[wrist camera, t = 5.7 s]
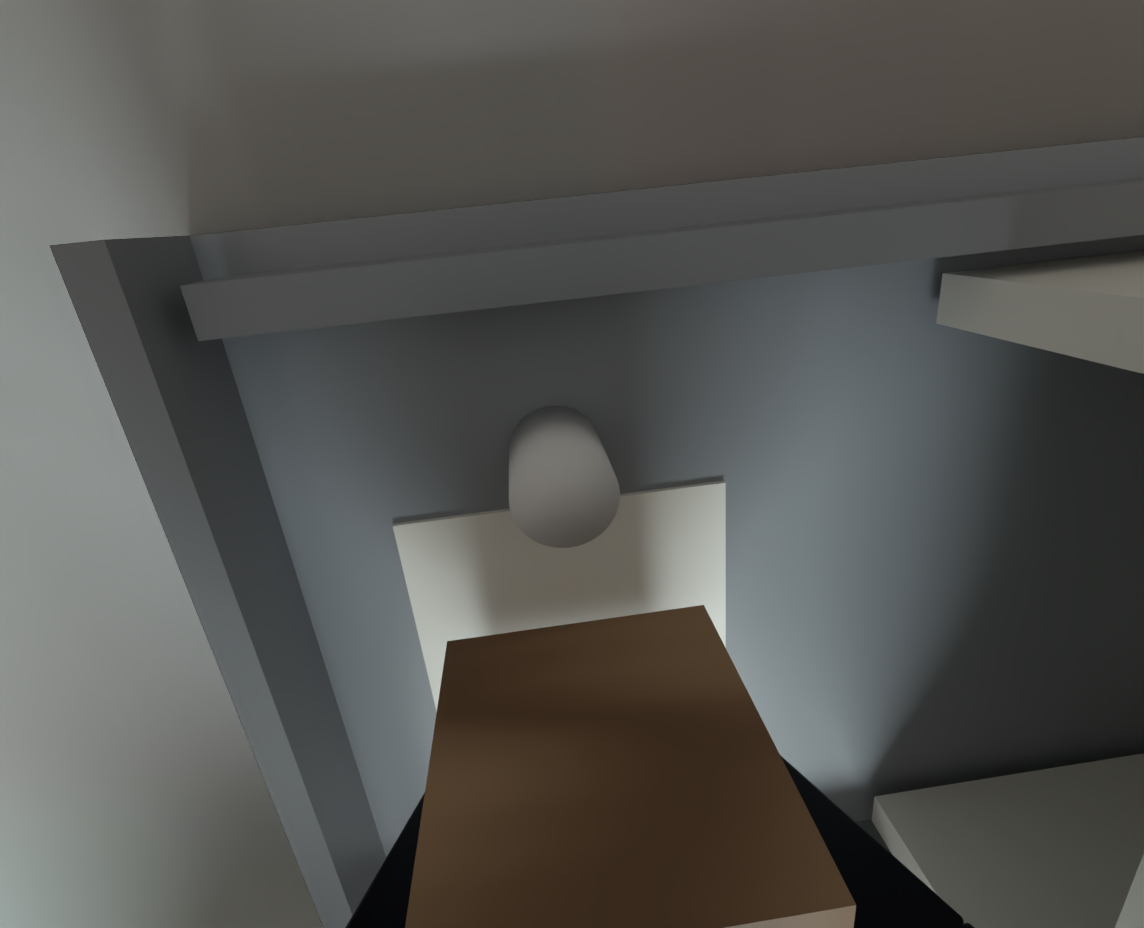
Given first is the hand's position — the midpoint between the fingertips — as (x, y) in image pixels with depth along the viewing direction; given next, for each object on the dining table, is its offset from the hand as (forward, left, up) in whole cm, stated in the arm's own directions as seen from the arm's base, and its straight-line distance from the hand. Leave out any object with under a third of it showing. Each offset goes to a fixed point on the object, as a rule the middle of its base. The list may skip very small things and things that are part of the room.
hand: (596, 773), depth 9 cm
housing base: (+6, 0, -4) cm, 7 cm away
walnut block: (0, 0, -1) cm, 1 cm away
